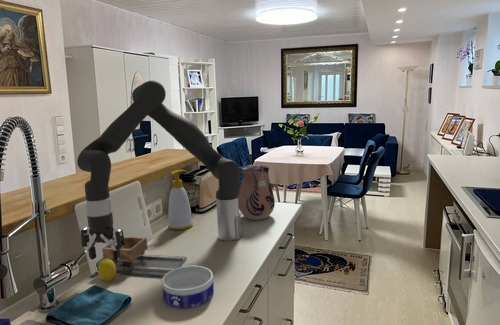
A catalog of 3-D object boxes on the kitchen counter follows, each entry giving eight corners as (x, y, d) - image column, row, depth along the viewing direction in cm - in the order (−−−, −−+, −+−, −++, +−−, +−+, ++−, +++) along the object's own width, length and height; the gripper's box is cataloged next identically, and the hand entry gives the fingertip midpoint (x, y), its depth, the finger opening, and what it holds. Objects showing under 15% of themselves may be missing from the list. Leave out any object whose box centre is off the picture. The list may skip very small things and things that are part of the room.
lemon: (102, 277, 126) (99, 255, 124) (119, 276, 126) (116, 254, 125) (97, 286, 120) (94, 263, 119) (114, 284, 121) (111, 261, 119)
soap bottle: (197, 226, 171) (193, 170, 166) (174, 232, 165) (169, 174, 160) (187, 220, 180) (183, 167, 175) (164, 225, 174) (159, 170, 169)
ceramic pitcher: (276, 222, 171) (274, 169, 166) (230, 224, 172) (227, 171, 167) (274, 211, 188) (272, 162, 184) (232, 212, 189) (229, 164, 184)
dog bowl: (221, 285, 118) (220, 267, 117) (201, 312, 104) (200, 292, 102) (178, 280, 122) (176, 263, 121) (153, 305, 108) (151, 286, 107)
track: (186, 259, 137) (185, 250, 137) (170, 277, 124) (169, 268, 123) (118, 255, 143) (117, 247, 143) (96, 272, 130) (95, 263, 129)
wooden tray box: (148, 253, 139) (146, 237, 137) (132, 267, 128) (131, 250, 127) (121, 252, 141) (119, 236, 140) (104, 265, 130) (102, 248, 129)
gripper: (125, 209, 121) (130, 255, 124) (87, 207, 124) (92, 253, 127) (112, 216, 114) (118, 266, 117) (72, 214, 117) (78, 263, 120)
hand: (104, 259), depth 122 cm, fingers open, 8 cm apart
